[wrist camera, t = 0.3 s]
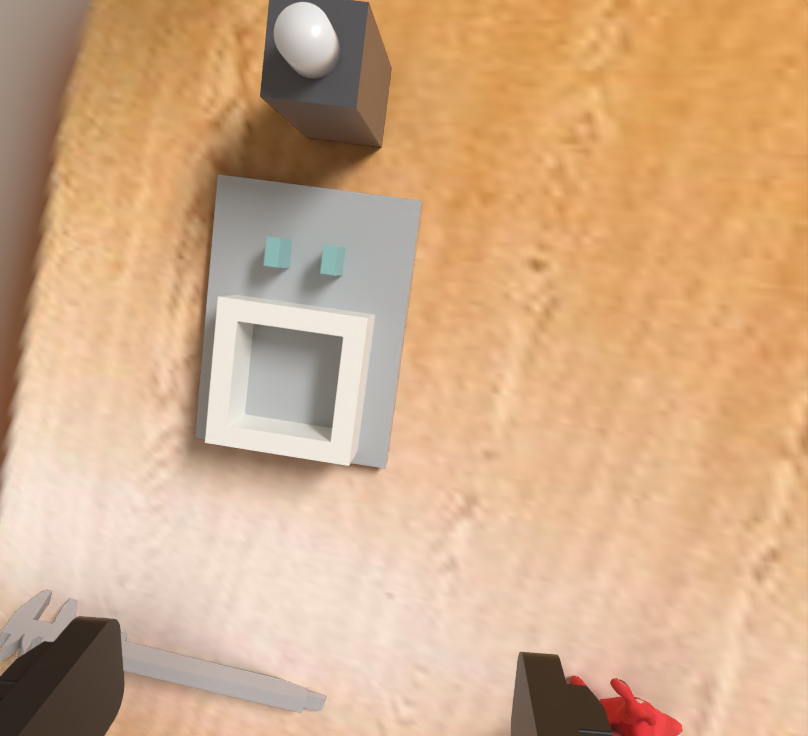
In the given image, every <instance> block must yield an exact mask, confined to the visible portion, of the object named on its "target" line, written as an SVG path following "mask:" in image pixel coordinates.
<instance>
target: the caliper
mask: <svg viewBox="0 0 808 736" xmlns="http://www.w3.org/2000/svg"><path fill="white" fill-rule="evenodd" d="M51 594H52V591H42V592H41V593H39V594H38V595H36V596H35V597H34V598H32V599H31V600H30V601H29V602H27V603H26V604H25V605H23V606H22V607H21V608H19V609H18V610H17V611H15V613H14V614H13V615H12V617H11V618H10V620H9V621H8V623H7V624H6V626H5V627H4V629H3V630H2V632H1V636H0V646H2V649H1V653H0V660H3V659H6V658H8V657H10V656H11V655H13V654H14V653H16V651H17V650H18V648H19V647H20V651H19V654H18V658H19V657H20V656H22V655H23V654H25V653H26V652H28V651H30V650H31V649H33V648H34V647H36V646H37V645H39V644H40V643H42V642H44V641H49V642H54V640H55V639H56V638H57V637H58V636H59V635H60V634H61V632H62V631H63V630H64V629H65V628H66V627H67V626H68V624H69V623H70V622H71V621H72V620H73V619H74V618H75V617H76V607H77V600H75V599H72V598H69V600H68V602H67V603H65V604H64V606H63V607H62V609H61V610H60V612H59V614H58V615H57V617H56V619H55V622H54V623H53V624H52V623H48V622H44V621H39V620H38V619H39V617H40V616H41V614H42V613H43V611H44V610H45V608H46V607H47V605H48V604H49V601H50V598H51ZM127 635H128V634H127V633H125V632H121V643H122V657H123V671H126V672H131V673H135V674H139V675H143V676H147V677H151V678H156V679H160V680H164V681H168V682H172V683H177V684H181V685H185V686H189V687H193V688H197V689H202V690H206V691H210V692H214V693H218V694H223V695H227V696H231V697H235V698H239V699H244V700H248V701H252V702H256V703H261V704H265V705H269V706H273V707H278V708H282V709H286V710H290V711H295V712H299V713H301V712H302V710H303V708H305V709H309V710H314V711H318V710H322V707H323V705H324V702H325V699H326V696H325V695H322V694H319V693H314V692H310V691H307V688H304V687H302V686H299V685H296V684H294V683H291V682H289V681H286V680H282V679H278V678H274V677H270V676H266V675H262V674H257V673H253V672H249V671H245V670H241V669H237V668H232V667H228V666H224V665H220V664H216V663H212V662H208V661H204V660H199V659H195V658H191V657H187V656H183V655H179V654H175V653H171V652H167V651H163V650H159V649H155V648H151V647H147V646H143V645H139V644H135V643H131V642H127V641H126V638H127Z"/></svg>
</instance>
